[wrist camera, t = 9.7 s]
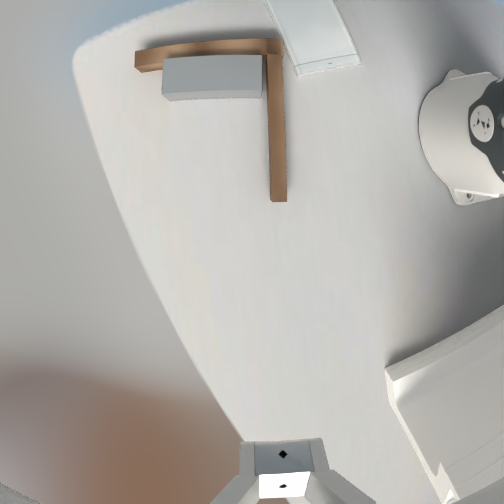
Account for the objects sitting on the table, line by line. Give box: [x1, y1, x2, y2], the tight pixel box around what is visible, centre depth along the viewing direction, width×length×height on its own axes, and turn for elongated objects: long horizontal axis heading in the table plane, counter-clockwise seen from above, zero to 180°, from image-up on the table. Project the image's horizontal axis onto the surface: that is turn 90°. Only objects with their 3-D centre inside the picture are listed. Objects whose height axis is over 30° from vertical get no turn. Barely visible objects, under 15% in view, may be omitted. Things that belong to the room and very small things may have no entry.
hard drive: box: [263, 0, 362, 77], centre depth 28 cm, size 2×8×12 cm
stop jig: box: [134, 39, 287, 202], centre depth 30 cm, size 16×18×2 cm
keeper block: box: [162, 55, 262, 101], centre depth 29 cm, size 10×4×4 cm, turn 90°
